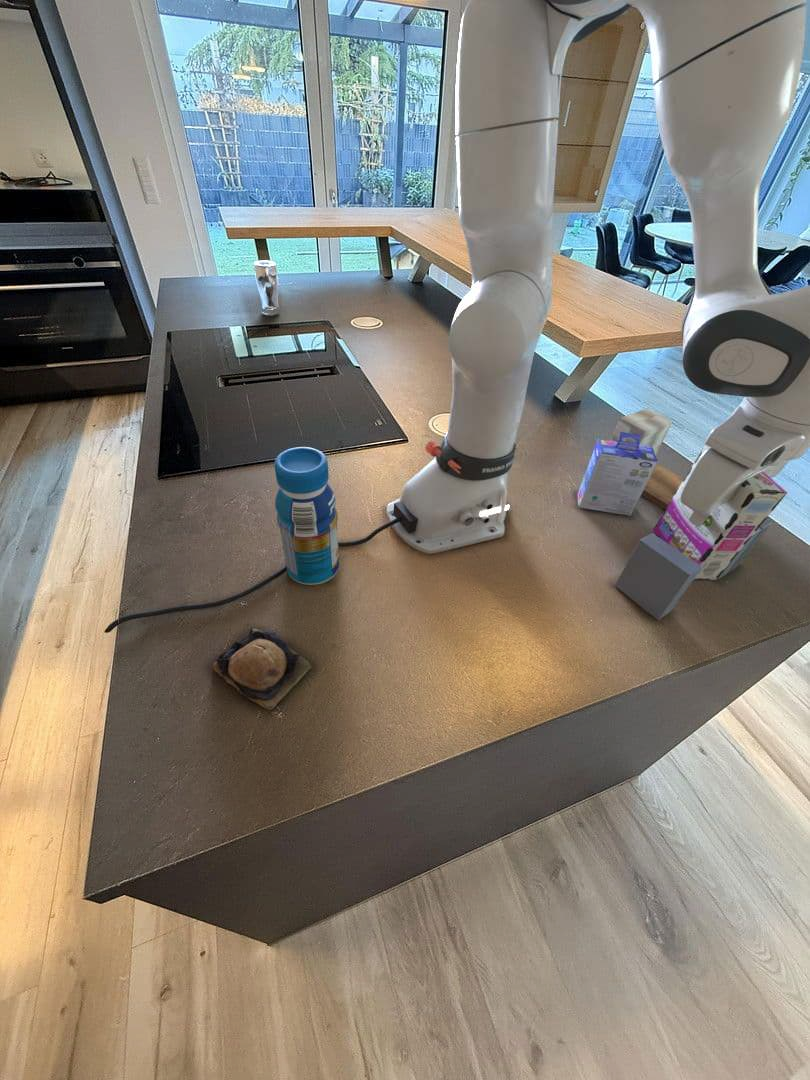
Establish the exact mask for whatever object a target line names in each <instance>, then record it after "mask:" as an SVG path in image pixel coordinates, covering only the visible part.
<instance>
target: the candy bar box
mask: <svg viewBox="0 0 810 1080" xmlns="http://www.w3.org/2000/svg"><path fill="white" fill-rule="evenodd" d="M708 448H709V446H707V445H706V444H705V445H704V446H703V448H702V450H700V453H699V454H698V456H697V458H696V459H695V460H694V463H692V465H691V467H690V469H689V471H687V473H686V475H685V477H684V478H683V479H684V480H683V482H682V484H681V485H680V487H679V488H678V490H677V492H676V493H675V495H674V497H673V498H672V500H671V502H670V503H669V505H668V506H667V508H666V510H665V509H664V511H663V513H662V514H661V516H660V517H659V519H658V521H657V522H656V524H655V526H654V528H653V529H652V533H653V534H654V535H656V536H657V537H659V538H660V539H662V540H663V541H665V542H666V543H668V544H669V545H670V546H672V547H673V548H675V549H676V550H678V551H679V552H681V553H682V554H684V555H685V556H687V557H688V558H689V559H691V560H692V561H694V562H695V563H697V564H698V565H700V566H701V567H702V568H701V570H700V571H699V572H698V574H697V575H696V577H695V578H694V579H693V581H718V580H717V578H718V577H719V576H720V575H721V573H722V572H723V571H724V570H725V568H726V567H727V566H728V565H729V564H730V562H731V561H732V560H733V559H734V558H735V556H736V555H737V554H738V552H739V551H740V550H741V549H742V548H743V547H744V545H745V544H746V543H747V541H748V540H749V539H750V538H751V536H752V535H753V534H754V533H755V532H756V531H757V529H758V528H759V527H760V526H761V525H762V523H763V522H764V521H765V520H766V519H768V517H769V516H770V515H771V514H772V512H773V511H774V510H775V509H776V508H777V506H778V505H779V504H780V503H781V501H782V500H783V499H784V497H785V496H787V494H788V492H787V491H786V490H785V489H784V488H783V487H782V486H781V485H779V484H778V483H777V482H776V481H775V480H773V478H770V477H769V476H768V475H767V474H766V473H764V472H762V473H760V474H758V475H756V476H754V477H752V478H750V479H748V480H746V481H745V482H743V484H742V485H741V486H740V488H739V489H738V491H737V492H736V493H735V495H734V496H733V498H732V499H731V500H730V501H729V502H727V503H725V504H723V505H722V506H720V507H718V508H716V509H714V510H712V512H711V513H710V515H711V517H710V518H709V519H708V520H707V522H706V523H705V524H703V525H701V526H700V527H697V526H695V525H694V524H692V523H691V522H690V521H689V517H690V516H691V514H692V513H693V510H692V509H690V508H689V507H687V506H686V505H684V504H683V503H682V502H681V501H680V495H681V491H682V489H683V487H684V485H685V483H686V481H687V480H688V478H689V476H690V474H691V472H692V470H693V469H694V467H695V465H696V463H697V462H698V460H699V459H700V457H701V456H702V454H703V453H704V452H705V451H706V450H707V449H708Z"/></svg>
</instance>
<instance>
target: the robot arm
mask: <svg viewBox="0 0 810 1080" xmlns="http://www.w3.org/2000/svg"><path fill="white" fill-rule="evenodd" d="M807 1H808V0H468V1H467V3H466V6H465V8H464V9H463V13H462V18H461V22H460V31H459V38H458V48H457V62H456V77H455V81H456V82H455V116H454V117H455V135H456V137H455V145H456V147H455V149H456V168H457V169H456V171H457V196H458V219H459V224H460V227H461V229H462V232H463V234H464V239H465V243H466V249H467V253H468V259H469V266H470V274H471V288H470V291H469V292H468V293H467V294H466V295H465V296H464V297H463V298H462V300H461V301H460V302H459V304H458V306H457V308H456V310H455V313H454V315H453V318H452V321H451V326H450V329H449V334H448V347H449V353H450V355H451V373H452V394H451V395H452V396H451V398H452V399H451V404H450V413H449V419H448V428H447V432H446V433H445V435H444V437H443V439H442V441H441V443H440V445H438V444H437V443H436V442H435V441H434V440H430V441H428V442H427V443H426V445H425V447H424V449H425V452H426V453H428V454H430V456H431V457H433V459H432V460H431V461H429V462H428V463H427V464H426V465H425V466H424V467H423V468H421V470H420V471H418V472H417V473H416V474H415V475H414V476H413V477H412V478H410V479H409V480H408V481H407V482H406V483H405V484H404V486H403V488H402V490H401V494H400V497H399V498H398V499H396V500H394V501H392V502H389V504H387V506H386V510H385V511H386V512H385V513H386V519H387V522H385V523H384V524H382V525H380V526H379V527H377V528H375V530H373V531H372V532H371V533H370V534H368V535H367V536H365V537H363V538H360V539H357V540H352V541H338V548H339V547H341V548H342V547H352V546H353V547H354V546H359V545H362V544H365V543H367V542H369V541H371V539H373V538H374V537H375V536H377V535H378V534H379V533H381V532H382V531H384V530H386V529H387V528H390V527H391V528H392V529H393V531H394V532H395V533H396V534H397V535H398V536H399V537H400V538H401V539H402V540H403V541H404V542H405V543H406V544H407V545H409V546H410V547H411V548H413V549H415V550H417V551H419V552H421V553H423V554H426V555H434V554H438V553H443V552H446V551H450V550H454V549H458V548H462V547H463V548H464V547H467V546H470V545H474V544H475V545H476V544H479V543H483V542H486V541H491V540H495V539H499V538H502V537H504V535H505V530H506V527H505V519H506V517H507V511H508V510H510V504H507V496H508V483H509V482H508V481H509V471H510V470H511V468H512V466H513V463H514V461H515V453H516V449H517V444H516V440H517V435H518V430H519V427H520V423H521V420H522V419H521V418H522V415H523V412H524V411H523V410H524V407H525V403H526V396H527V389H528V385H529V379H530V375H531V370H532V365H533V360H534V356H535V352H536V348H537V345H538V342H539V339H540V337H541V334H542V331H543V329H544V327H545V324H546V322H547V321H548V318H549V316H550V312H551V309H552V299H553V297H552V295H553V271H554V270H553V269H554V268H553V266H554V198H555V197H554V196H555V180H556V169H557V168H556V165H557V152H558V151H557V150H558V149H557V148H558V137H559V136H558V135H559V118H560V102H561V100H560V99H561V86H562V75H563V69H564V64H565V59H566V55H567V52H568V49H569V47H570V45H571V43H578V42H580V41H582V40H584V39H586V38H587V37H588V36H589V35H591V34H593V33H594V32H595V31H597V30H598V29H600V28H602V27H603V26H604V25H606V24H608V23H610V22H612V21H613V20H615V19H616V18H618V17H620V16H622V14H624V13H625V12H626V11H628V10H629V9H630V8H632V7H634V8H636V9H637V10H638V12H639V13H640V14H641V16H642V18H643V21H644V23H645V28H646V31H647V36H648V44H649V51H650V61H651V62H650V63H651V76H652V86H653V87H652V89H653V91H652V92H653V99H654V101H653V102H654V108H655V109H654V110H655V114H656V115H655V116H656V122H657V128H658V131H659V136H660V140H661V145H662V149H663V152H664V155H665V158H666V162H667V165H668V168H669V170H670V172H671V173H672V175H673V177H674V178H675V180H676V181H677V183H678V185H679V186H680V188H681V190H682V192H683V194H684V196H685V199H686V202H687V205H688V209H689V213H690V220H691V229H692V247H693V248H692V249H693V263H694V264H693V266H694V286H693V292H692V295H691V297H690V300H689V303H688V304H687V307H686V310H685V312H684V315H683V318H682V322H681V329H680V331H681V340H682V367H683V371H684V374H685V376H686V377H687V378H688V380H689V382H690V383H691V384H693V385H694V386H695V387H697V388H698V389H699V390H702V391H704V392H707V393H711V394H715V395H716V394H717V395H724V396H733V397H743V399H742V401H741V403H739V405H738V406H737V407H736V408H735V409H734V411H733V412H732V413H731V415H729V417H727V418H726V419H724V421H722V422H721V423H719V424H718V425H717V426H716V427H715V428H713V429H712V430H711V431H710V432H709V434H708V436H707V438H706V439H705V442H704V444H705V445H707V446H709V448H708V449H707V450H706V451H705V452H704V453H703V454H702V456H701V457H700V459H699V460H698V462H697V463H696V465H695V467H694V469H693V470H692V472H691V474H690V476H689V478H688V480H687V481H686V483H685V485H684V487H683V489H682V491H681V495H680V501H681V502H682V503H683V504H684V505H686V506H687V507H689V508H690V509H692V510H693V513H692V514H691V516H690V517H689V521H690V522H691V523H692V524H694V525H695V526H697V527H700V526H701V525H703V524H705V523H706V522H707V520H708V519H709V518H710V517H711V515H710V513H711V512H712V510H714V509H716V508H718V507H720V506H722V505H723V504H725V503H727V502H729V501H730V500H731V499H732V498H733V496H734V495H735V493H736V492H737V491H738V489H739V488H740V486H741V485H742V484H743V482H745V481H746V480H748V479H750V478H752V477H754V476H756V475H758V474H760V473H762V472H764V473H766V474H767V475H768V476H769V477H770V478H771V479H774V478H775V477H776V476H777V475H779V474H780V473H781V472H782V471H783V469H785V467H786V466H787V464H788V463H789V462H790V461H793V460H794V461H795V460H798V459H800V458H802V457H803V456H804V455H805V454H806V452H808V451H809V449H810V285H806V286H803V287H799V288H795V289H792V290H788V291H783V292H779V293H774V294H773V293H772V291H771V290H770V288H769V286H768V285H767V282H765V280H764V279H763V277H762V275H761V273H760V269H759V263H758V245H759V244H758V243H759V203H760V202H759V200H760V191H761V185H762V180H763V175H764V172H765V168H766V166H767V163H768V161H769V158H770V156H771V153H772V151H773V150H774V148H775V145H776V143H777V141H778V139H779V138H780V136H781V134H782V132H783V130H784V128H785V126H786V124H787V123H788V120H789V118H790V117H791V114H792V110H793V106H794V102H795V98H796V93H797V88H798V85H799V84H798V83H799V78H800V74H801V67H802V61H803V54H804V48H805V37H806V25H807V24H806V23H807V6H806V5H807ZM286 572H287V568H286V565H285V566H283V567H282V568H281V569H279V570H278V571H276V572H275V573H272V574H271V575H269V576H268V577H266V578H264V579H263V580H261V581H259V582H258V583H256V584H254V585H253V586H251V587H249V588H247V589H245V590H243V591H240V592H239V593H236V594H233V595H230V596H228V597H225V598H221V599H219V600H214V601H210V602H201V603H194V604H185V605H176V606H170V607H164V608H160V609H155V610H154V609H153V610H147V611H142V612H136V613H135V612H134V613H130V614H127V615H124V616H121V617H119V618H117V619H115V620H113V621H112V622H111V623H110V624H109V625H108V626H107V627H106V628H105V630H104V631H103V633H104V634H108V633H111V632H112V631H113V630H114V629H115V628H116V627H118V626H119V625H121V624H123V623H126V622H128V621H132V620H137V619H142V618H149V617H155V616H161V615H166V614H172V613H177V612H183V611H194V610H204V609H210V608H214V607H215V608H216V607H218V606H219V607H220V606H222V605H225V604H226V605H227V604H229V603H232V602H235V601H237V600H240V599H242V598H244V597H246V596H248V595H250V594H252V593H254V592H256V591H257V590H259V589H261V588H262V587H264V586H266V585H268V584H269V583H271V582H272V581H274V580H275V579H277V578H279V577H281V576H282V575H284V574H285V573H286ZM118 619H119V623H118Z"/></svg>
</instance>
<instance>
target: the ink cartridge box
mask: <svg viewBox="0 0 810 1080" xmlns="http://www.w3.org/2000/svg"><path fill="white" fill-rule="evenodd" d="M627 437H631V438H633V439H635V440H636V443H630V442H624V441H622V438H627ZM640 440H641V435H638V434H631V433H625V432H620V436H619V438H618V441H617V442H613V441H611V440H606V439H605V440H604V439H597V440H596V442H595V446H594V448H593V451H592V455H591V457H590V460H589V462H588V466H587V468H586V471H585V474H584V476H583V479H582V482H581V484H580V487H579V490H578V491H577V503H578V505H577V506H578V508H579V509H585V510H592V511H599V512H604V513H609V514H617V515H622V516H627V517H628V516H629V517H630V516H632V514H633V513H634V509H635V508H636V506H637V503H638V502H639V499H640V497H641V496H642V492H643V490H644V487H645V485H646V483H647V482H648V480H649V478H650V476H651V474H652V472H653V470H654V468H655V466H656V464H658V458H657V454H656V455H655V452H654V450H653V448H652V447H650V446H643V445H640Z"/></svg>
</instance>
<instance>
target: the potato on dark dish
mask: <svg viewBox="0 0 810 1080" xmlns="http://www.w3.org/2000/svg"><path fill="white" fill-rule="evenodd" d="M212 666H213V667H212V669H213V670H214V672H215V673H218V675H219V677H222V679H223V680H225V682H226V683H227V684H229V685H230V686H233V687H234V688H235V689H236V690H237V692H238V693H239V694H242V695H243V696H244V697H245V698H248V699H249V700H250V701H251V702H254V703H256V704H257V705H259V706H261V707H262V708H264V709H266V710H268V711H270V710H271V711H272V710H273V709H274V708H275V707H276V706H277V705H278V704H279V703H280V702H281V701H282V699H283V698H285V696H286V695H288V693H289V692H290V691H291V690H292V689H293V688H294V686H296V685H297V683H299V682H300V680H302V678H304V676H305V675H306V674H307V673H308V672H309V671H310V670H311V669H312V666H311V663H310V662H308V660H306V659H305V658H304V657H302V656H301V654H300V653H297V652H296V651H294V650H293V649H292V648H291V647H290V646H289V644H288V642H287V641H286V640H283V639H282V638H281V637H280V636H279V635H278V634H277V632H275V631H273V630H266V631H262V630H259V629H257V628H251V629H250V631H249V632H248V633H247V634H245V635H244V636H243V637H242V638H240V639H239V640H234V642H233V643H232V645H230V647H228V648H227V649H226V650H224V651H222V653H220V655H218V656H217V657H216V658H215V662H213V665H212Z"/></svg>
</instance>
